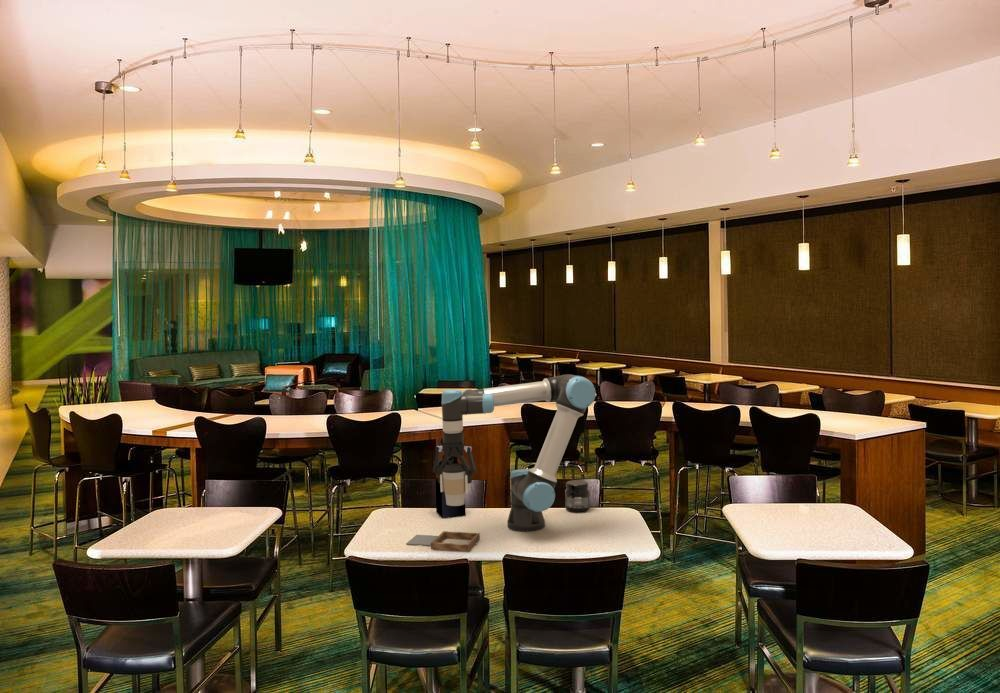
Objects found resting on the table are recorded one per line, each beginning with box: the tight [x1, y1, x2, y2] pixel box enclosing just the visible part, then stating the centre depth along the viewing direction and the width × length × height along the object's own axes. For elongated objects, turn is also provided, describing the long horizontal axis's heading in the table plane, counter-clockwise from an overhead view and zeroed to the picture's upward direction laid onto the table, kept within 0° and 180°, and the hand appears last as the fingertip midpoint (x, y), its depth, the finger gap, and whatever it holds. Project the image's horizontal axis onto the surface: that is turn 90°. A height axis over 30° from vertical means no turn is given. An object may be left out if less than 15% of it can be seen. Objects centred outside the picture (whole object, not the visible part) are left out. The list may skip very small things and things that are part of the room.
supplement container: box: [564, 479, 590, 514], centre depth 314 cm, size 10×10×12 cm
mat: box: [405, 534, 439, 547], centre depth 276 cm, size 11×11×1 cm
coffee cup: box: [442, 462, 467, 506], centre depth 270 cm, size 9×9×15 cm
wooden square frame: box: [430, 530, 481, 553], centre depth 271 cm, size 14×14×2 cm
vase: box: [434, 437, 467, 520], centre depth 312 cm, size 14×12×35 cm
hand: (455, 491), depth 270 cm, fingers closed on coffee cup, 9 cm apart
